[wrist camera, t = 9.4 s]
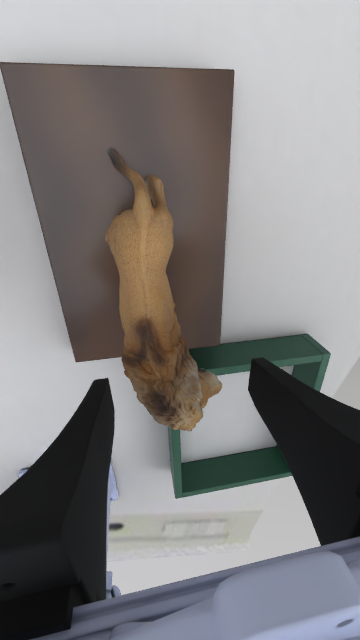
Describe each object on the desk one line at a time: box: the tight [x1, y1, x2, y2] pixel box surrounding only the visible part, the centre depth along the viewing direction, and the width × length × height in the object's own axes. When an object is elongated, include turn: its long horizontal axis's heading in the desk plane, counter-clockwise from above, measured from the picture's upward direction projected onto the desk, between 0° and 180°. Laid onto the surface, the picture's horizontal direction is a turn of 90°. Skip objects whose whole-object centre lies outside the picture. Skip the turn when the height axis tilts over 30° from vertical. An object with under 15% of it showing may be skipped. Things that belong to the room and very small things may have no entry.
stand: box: [0, 62, 234, 362], centre depth 19 cm, size 12×18×2 cm, turn 1°
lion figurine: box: [105, 147, 222, 431], centre depth 15 cm, size 15×5×9 cm, turn 13°
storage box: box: [168, 334, 331, 499], centre depth 28 cm, size 15×18×4 cm
